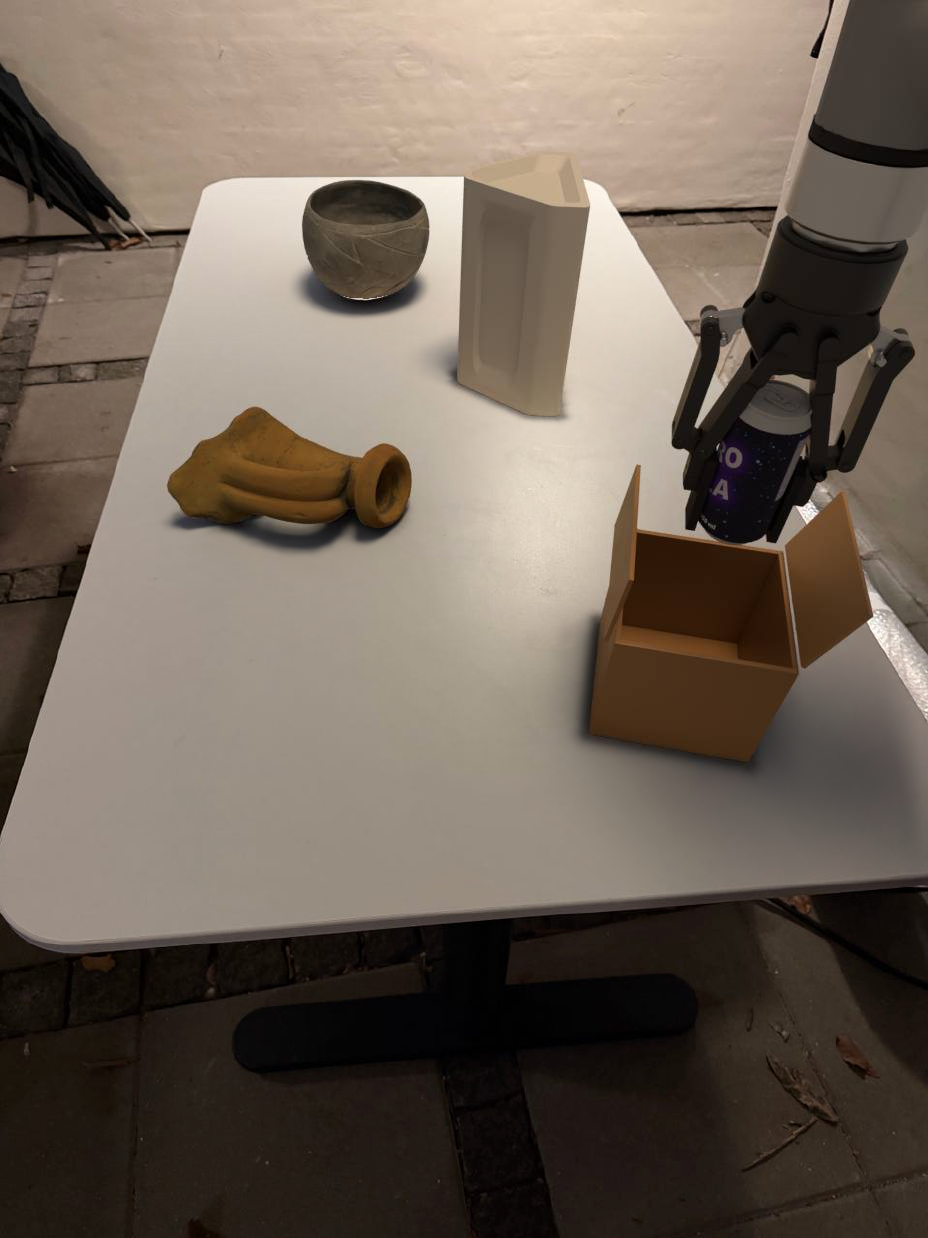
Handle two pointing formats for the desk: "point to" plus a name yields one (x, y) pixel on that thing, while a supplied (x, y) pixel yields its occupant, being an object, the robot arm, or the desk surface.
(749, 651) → the carton
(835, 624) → the flap
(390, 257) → the bowl
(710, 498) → the beverage can
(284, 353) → the desk surface
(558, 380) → the tall recessed triangular prism
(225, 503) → the brown looped sculpture
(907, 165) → the robot arm
